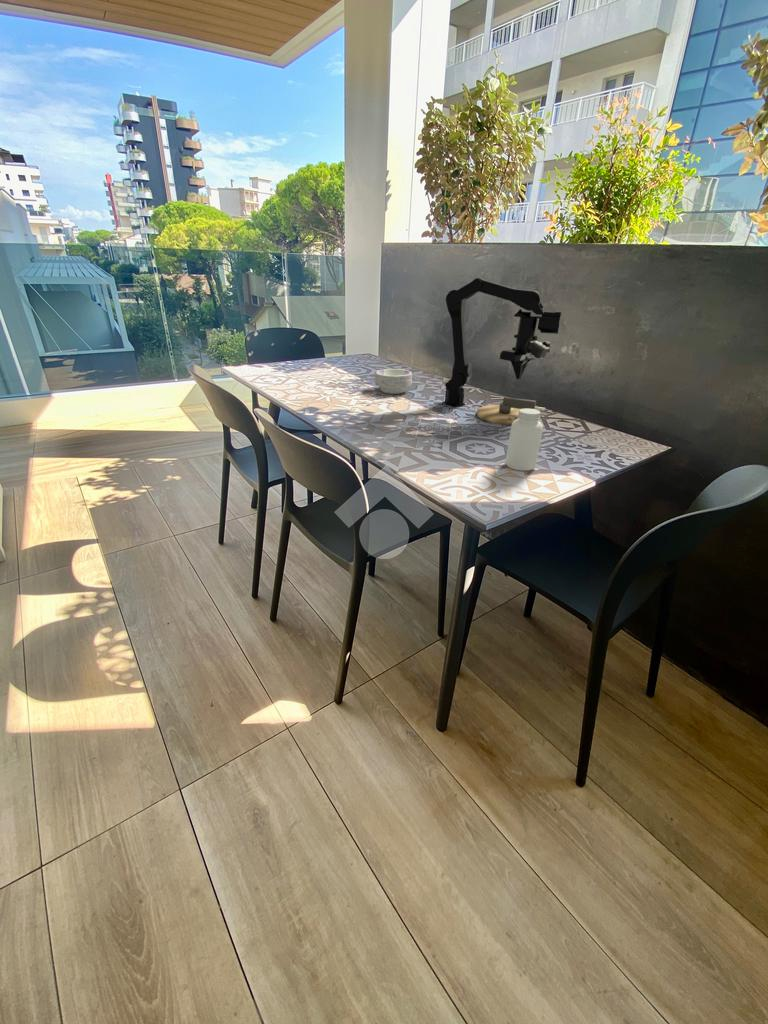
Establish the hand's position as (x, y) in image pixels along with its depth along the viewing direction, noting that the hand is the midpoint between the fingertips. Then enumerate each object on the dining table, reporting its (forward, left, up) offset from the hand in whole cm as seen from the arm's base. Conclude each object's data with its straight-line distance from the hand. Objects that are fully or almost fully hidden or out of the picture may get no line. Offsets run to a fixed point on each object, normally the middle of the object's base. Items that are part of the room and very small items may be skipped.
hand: (518, 378), depth 159 cm
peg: (+7, -5, -10) cm, 13 cm away
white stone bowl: (-48, -16, -12) cm, 52 cm away
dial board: (+1, -8, -12) cm, 14 cm away
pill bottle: (+31, -41, -12) cm, 53 cm away
